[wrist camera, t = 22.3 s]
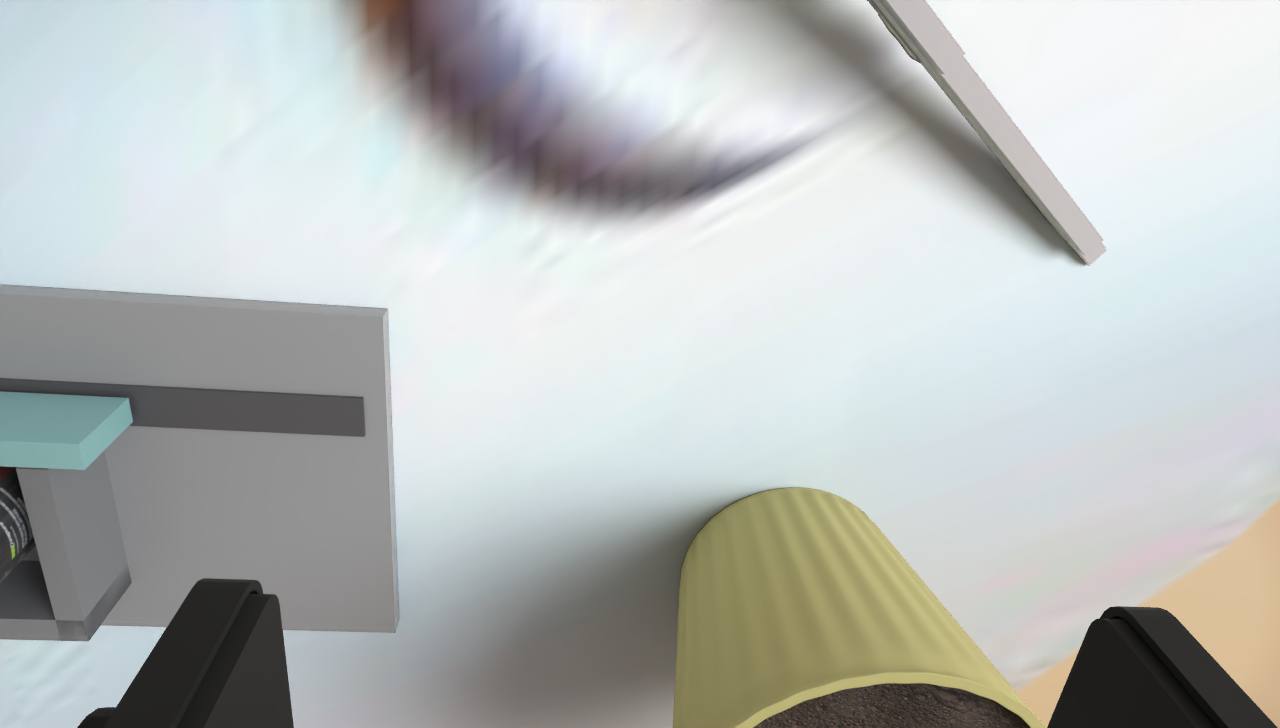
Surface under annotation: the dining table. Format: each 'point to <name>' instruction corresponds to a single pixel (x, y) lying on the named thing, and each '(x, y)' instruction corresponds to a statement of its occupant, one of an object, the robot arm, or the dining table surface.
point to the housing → (206, 460)
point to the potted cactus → (822, 628)
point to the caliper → (988, 118)
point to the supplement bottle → (13, 523)
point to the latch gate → (58, 428)
